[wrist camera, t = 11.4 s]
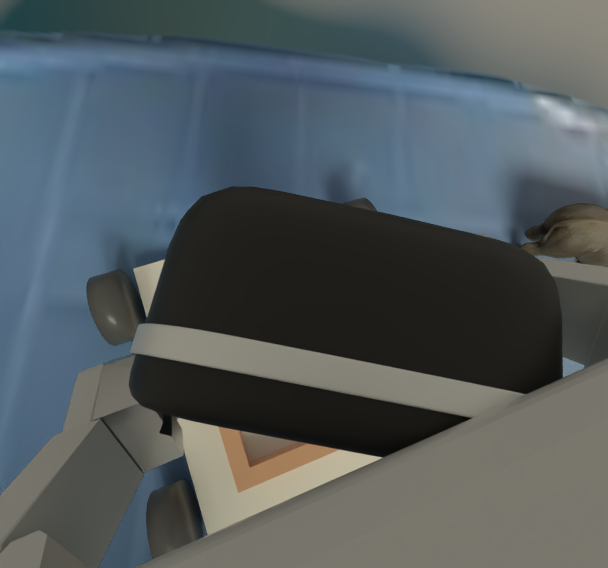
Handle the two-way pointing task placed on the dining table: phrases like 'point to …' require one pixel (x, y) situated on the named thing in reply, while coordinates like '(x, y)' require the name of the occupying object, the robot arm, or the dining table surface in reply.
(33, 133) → the dining table surface
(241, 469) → the chassis
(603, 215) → the rhino figurine
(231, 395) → the battery charger
